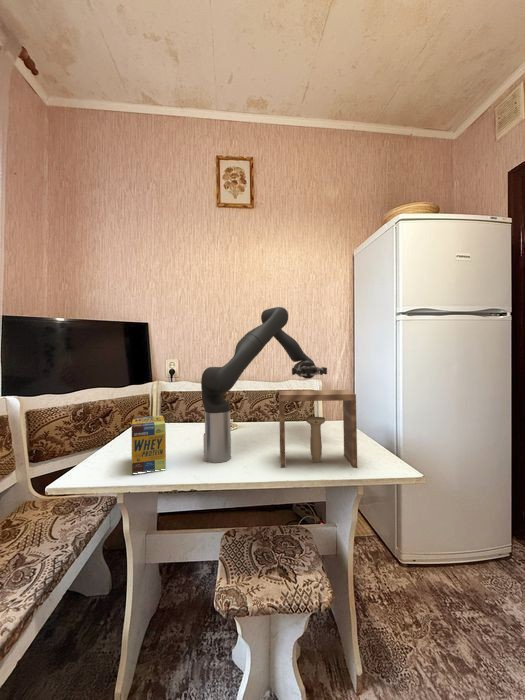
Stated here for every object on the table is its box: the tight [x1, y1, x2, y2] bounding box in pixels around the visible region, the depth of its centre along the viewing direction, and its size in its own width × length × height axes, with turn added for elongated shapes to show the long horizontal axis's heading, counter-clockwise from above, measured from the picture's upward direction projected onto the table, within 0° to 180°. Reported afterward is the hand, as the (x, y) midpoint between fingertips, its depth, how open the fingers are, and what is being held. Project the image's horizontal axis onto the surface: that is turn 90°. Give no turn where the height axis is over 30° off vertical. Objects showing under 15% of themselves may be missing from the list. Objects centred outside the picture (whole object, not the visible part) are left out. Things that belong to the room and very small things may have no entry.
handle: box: [305, 416, 326, 463], centre depth 103 cm, size 5×6×15 cm
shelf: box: [278, 389, 358, 469], centre depth 103 cm, size 25×12×24 cm, turn 88°
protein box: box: [131, 415, 167, 474], centre depth 103 cm, size 10×15×16 cm
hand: (310, 372), depth 116 cm, fingers open, 8 cm apart
